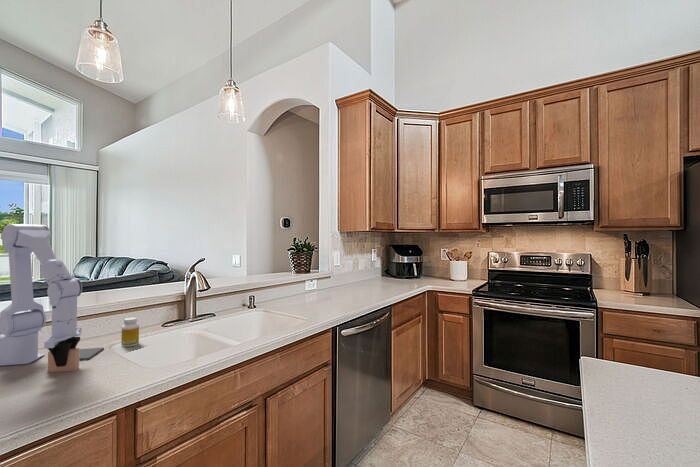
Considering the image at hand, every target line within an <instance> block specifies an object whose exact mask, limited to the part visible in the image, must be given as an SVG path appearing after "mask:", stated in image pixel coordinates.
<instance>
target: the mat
mask: <svg viewBox="0 0 700 467" xmlns="http://www.w3.org/2000/svg"><path fill="white" fill-rule="evenodd" d="M104 349H105V348H104V347H93V348H89V347H88V348H79V361H89V360H90V359H92V358H93V357H95V356H96V355H98V354H99V353H100V352H102V351H104Z"/></svg>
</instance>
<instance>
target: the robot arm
mask: <svg viewBox="0 0 700 467" xmlns="http://www.w3.org/2000/svg"><path fill="white" fill-rule="evenodd" d="M51 238H52V232H51V229H50V228H49V226H47V225H46V224H25V223H24V224H21V223H19V224H17V223H16V224H15V223H8V224H6V225H5V226H4V227H3V229H2V231H1V242H2V243H1V244H2V250H3V251H5V252H8V266H9V277H10V278H9V279H10V296H11V303H10V304H9V305H8V306H6V307H5V308H4V309H1V311H0V334H1V335H0V366H13V365H14V366H16V365H27V364H31V363H33V362H34V361H36V360H38V359H40V358H42V357H44V356H45V355H46V353H39V331H42V328H43V327H44V326H45V325H46V322H47V314H46V312H45V309H44V305H43V304H40V303H38V302H36V301H35V299H34V287H33V272H32V270H33V269H32V258H31V257H32V256H31V254H32V253H33V254H34V255H35V257H36V258H37V259H38V261H39V262H40V264H42V265H40V268H39V271H40V273H41V275H42V276H43V279H44V280H45V282H46V283H47V285H48V286H47V289H46V293H47V297H48V299H49V305H50V306H51V335H50V336H49V337H48V339H47V340H45V341H44V342H43V343H44V344H43V348H44V349H47V350H48V352H49V351H50V352H51V354H52V355H53V358H54V361H55V364H56V366H57V367H60V366H65V365H66V363H67V358H68V352H69V349H74V348H77V346H78V344H79V342H80V341H81V337H80V336H81V334H82V329H83V328H82V327H79V326H78V322H77V321H78V297H79V296H81V294H82V292H83V284H82V281H81V280H80V279H79V278H77V277H75V276H74V275H71V272H69V269H68V268H67V266H66V265H65V263H64V261H62V260H60V259H57V258H56V255H55V252H54V250H53V249H52V248H53V247H52V245H51V243H50V240H51Z"/></svg>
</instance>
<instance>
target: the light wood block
mask: <svg viewBox="0 0 700 467" xmlns="http://www.w3.org/2000/svg"><path fill="white" fill-rule="evenodd" d="M79 349H80V348H79V347H78V348H77V347H76V348H74V349H69V352H68V358H67V363H66V365H65V366H60V367H57V366H56V364H55V361H54V358H53V355H52V354H51V352H50V351H49V350H48V351H47V373H55V372H66V371H67V372H68V371H77V370H78V369H79V368H80V360H79Z"/></svg>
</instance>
